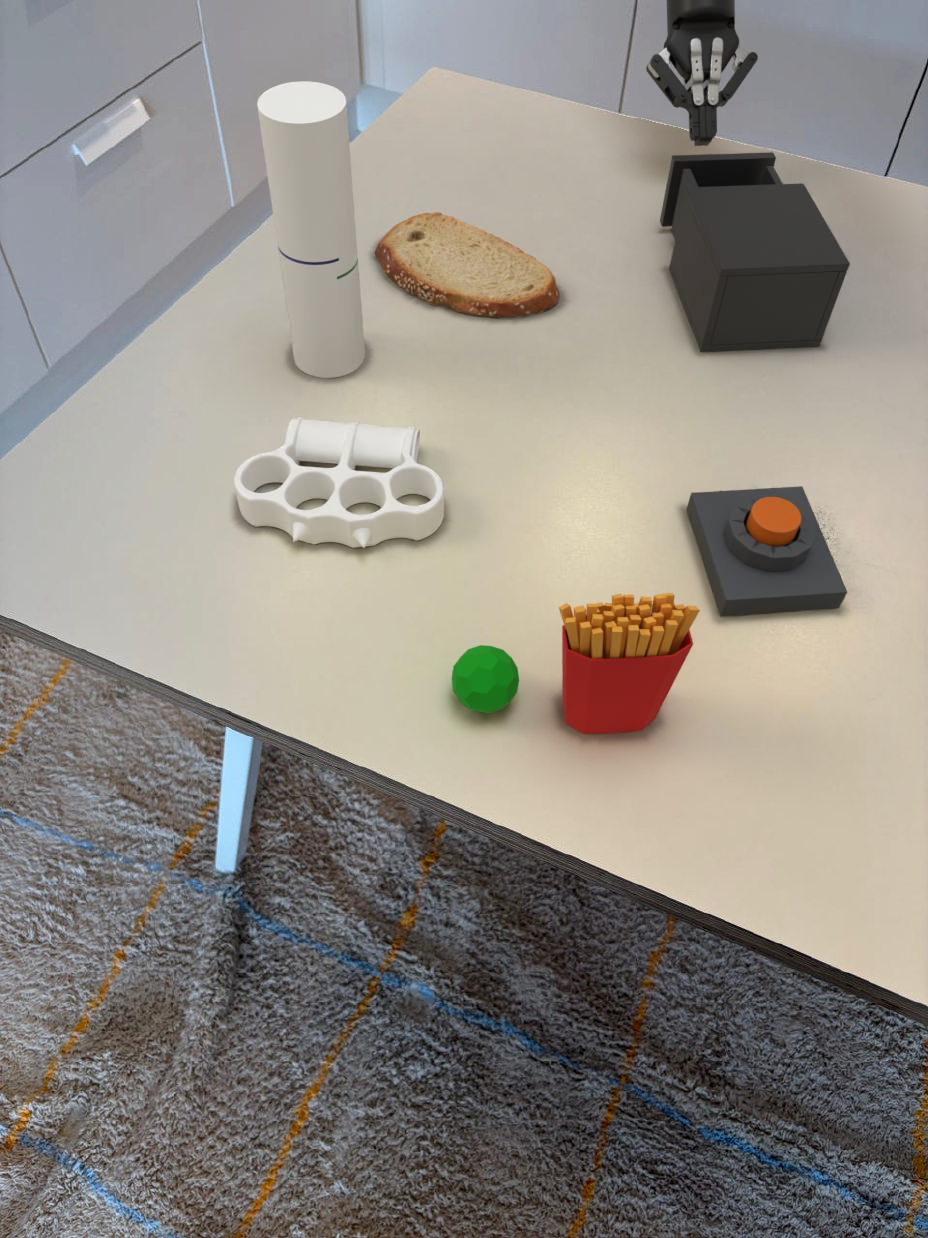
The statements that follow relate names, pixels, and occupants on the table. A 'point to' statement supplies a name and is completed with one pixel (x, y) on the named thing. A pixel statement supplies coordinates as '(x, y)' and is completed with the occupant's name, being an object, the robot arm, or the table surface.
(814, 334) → the dark grey paneled cube
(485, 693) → the polyhedron
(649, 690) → the french fries
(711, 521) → the control block
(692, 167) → the drawer
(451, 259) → the bread slice
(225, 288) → the table surface
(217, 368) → the table surface
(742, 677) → the table surface
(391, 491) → the knuckle duster
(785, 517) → the button
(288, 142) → the cylindrical container
